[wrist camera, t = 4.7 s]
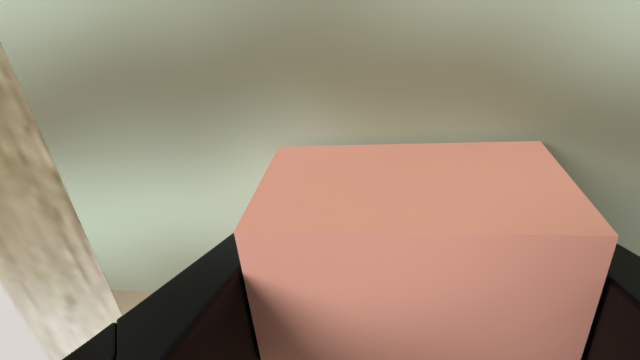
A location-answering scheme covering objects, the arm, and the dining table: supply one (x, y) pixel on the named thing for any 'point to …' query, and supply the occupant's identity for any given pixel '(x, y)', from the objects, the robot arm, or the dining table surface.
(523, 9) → the board
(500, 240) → the pink eraser
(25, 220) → the dining table surface
